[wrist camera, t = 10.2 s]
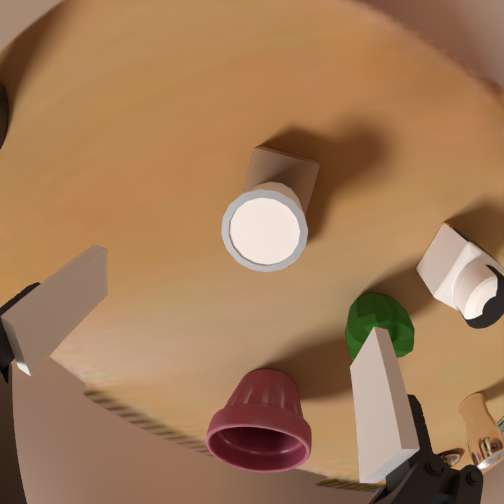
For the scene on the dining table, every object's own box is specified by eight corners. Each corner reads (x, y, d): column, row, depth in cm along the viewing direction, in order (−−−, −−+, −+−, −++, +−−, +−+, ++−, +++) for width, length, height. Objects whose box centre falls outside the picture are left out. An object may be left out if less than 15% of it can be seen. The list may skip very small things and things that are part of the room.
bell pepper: (404, 325, 37) (423, 376, 28) (348, 340, 39) (355, 393, 30) (398, 273, 35) (423, 320, 25) (336, 290, 37) (343, 341, 28)
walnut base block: (237, 236, 36) (229, 249, 32) (259, 145, 31) (254, 147, 28) (290, 251, 36) (288, 266, 32) (318, 161, 31) (320, 165, 27)
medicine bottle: (478, 245, 31) (527, 290, 20) (451, 289, 34) (488, 344, 23) (443, 220, 31) (493, 262, 20) (414, 268, 34) (449, 325, 23)
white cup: (287, 163, 28) (283, 174, 22) (318, 225, 30) (322, 253, 23) (226, 194, 30) (205, 213, 24) (258, 252, 32) (246, 284, 26)
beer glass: (458, 398, 42) (478, 460, 28) (488, 385, 40) (513, 444, 26) (454, 417, 44) (470, 475, 30) (482, 405, 42) (502, 460, 28)
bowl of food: (445, 467, 53) (449, 488, 46) (410, 473, 55) (413, 495, 48) (467, 446, 48) (473, 468, 42) (431, 451, 50) (436, 476, 43)
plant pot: (311, 353, 41) (308, 425, 30) (315, 411, 46) (312, 473, 35) (215, 356, 44) (191, 421, 33) (235, 411, 49) (219, 469, 38)
